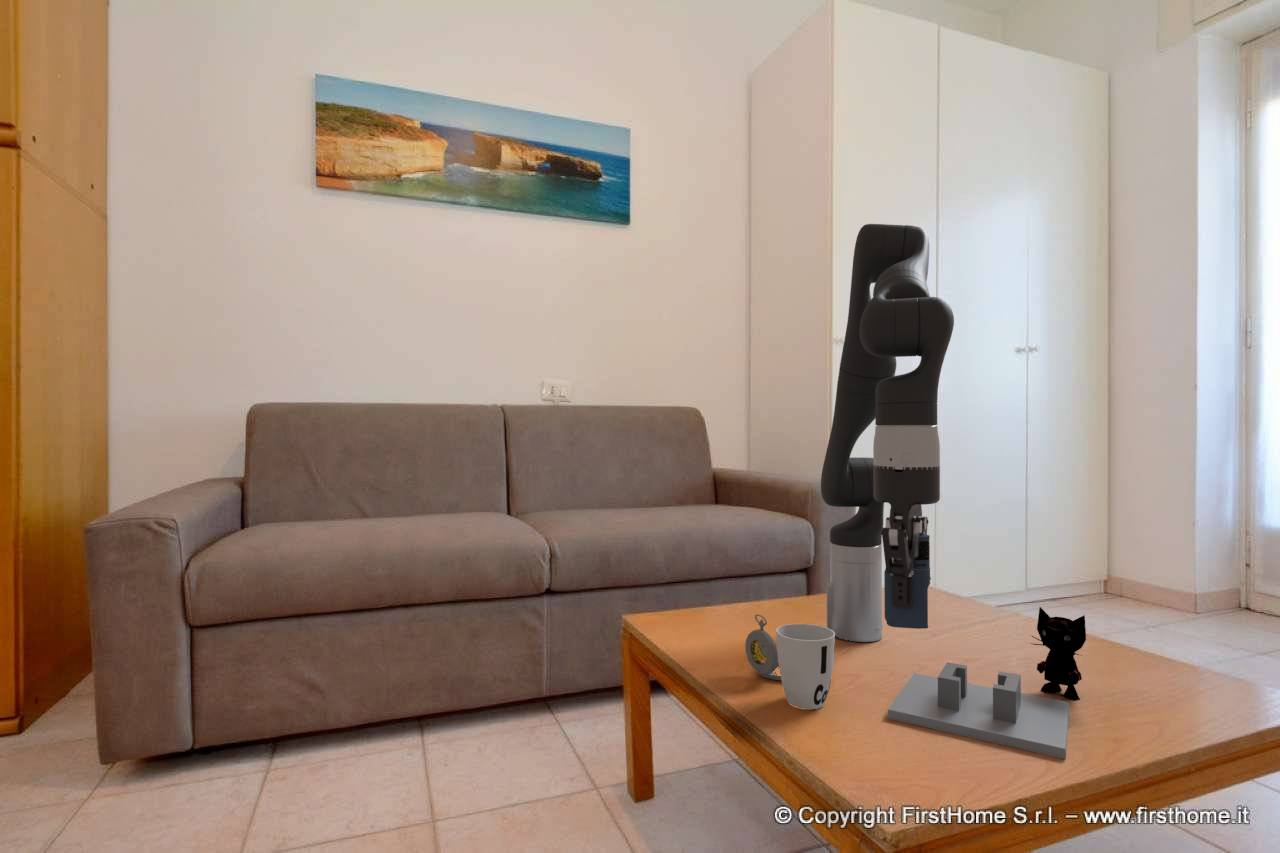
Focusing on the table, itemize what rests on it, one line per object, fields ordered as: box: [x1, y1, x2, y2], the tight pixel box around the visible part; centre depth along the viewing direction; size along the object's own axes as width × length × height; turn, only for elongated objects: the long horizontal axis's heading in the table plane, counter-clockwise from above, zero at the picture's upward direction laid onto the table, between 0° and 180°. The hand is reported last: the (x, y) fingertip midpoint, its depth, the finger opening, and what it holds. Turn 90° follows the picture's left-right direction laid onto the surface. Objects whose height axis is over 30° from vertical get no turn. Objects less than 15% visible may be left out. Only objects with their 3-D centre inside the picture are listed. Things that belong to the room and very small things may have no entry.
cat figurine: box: [1029, 606, 1087, 701], centre depth 98 cm, size 7×7×12 cm
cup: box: [775, 623, 836, 710], centre depth 95 cm, size 8×8×10 cm
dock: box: [887, 661, 1070, 760], centre depth 90 cm, size 20×16×5 cm
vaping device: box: [883, 528, 932, 630], centre depth 82 cm, size 3×5×12 cm, turn 76°
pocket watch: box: [745, 614, 782, 681], centre depth 105 cm, size 8×8×10 cm
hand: (906, 603), depth 81 cm, fingers closed on vaping device, 3 cm apart
